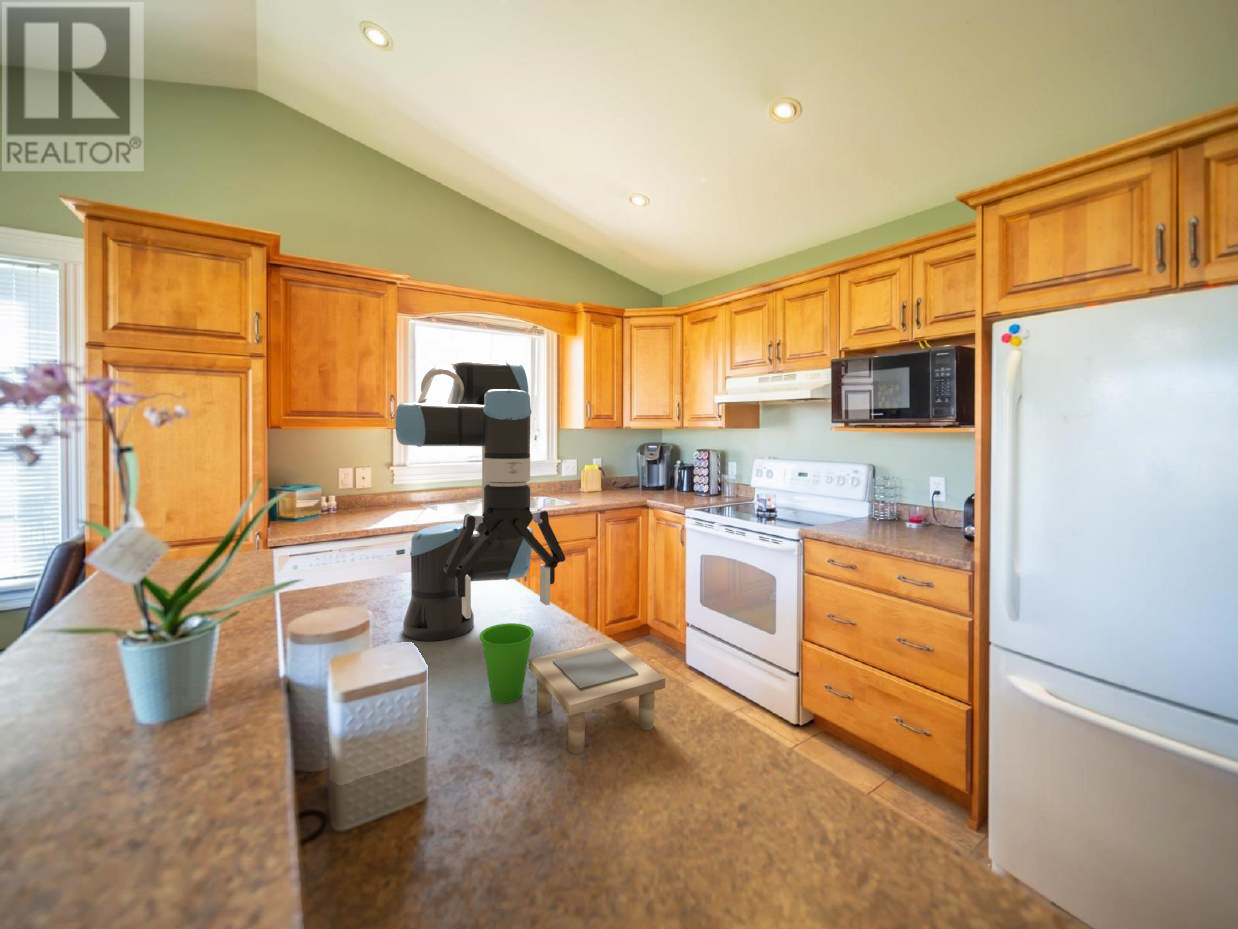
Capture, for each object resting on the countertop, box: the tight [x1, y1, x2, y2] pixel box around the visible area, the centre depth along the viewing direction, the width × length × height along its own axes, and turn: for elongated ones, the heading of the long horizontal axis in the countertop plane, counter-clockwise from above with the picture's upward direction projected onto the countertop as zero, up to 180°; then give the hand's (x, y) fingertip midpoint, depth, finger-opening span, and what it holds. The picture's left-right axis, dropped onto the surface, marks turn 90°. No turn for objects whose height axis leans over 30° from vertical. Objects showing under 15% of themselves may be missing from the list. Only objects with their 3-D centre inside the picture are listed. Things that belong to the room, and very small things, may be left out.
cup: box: [479, 622, 535, 704], centre depth 88 cm, size 9×9×11 cm
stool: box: [528, 640, 666, 755], centre depth 82 cm, size 16×16×8 cm
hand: (507, 609), depth 87 cm, fingers open, 13 cm apart
